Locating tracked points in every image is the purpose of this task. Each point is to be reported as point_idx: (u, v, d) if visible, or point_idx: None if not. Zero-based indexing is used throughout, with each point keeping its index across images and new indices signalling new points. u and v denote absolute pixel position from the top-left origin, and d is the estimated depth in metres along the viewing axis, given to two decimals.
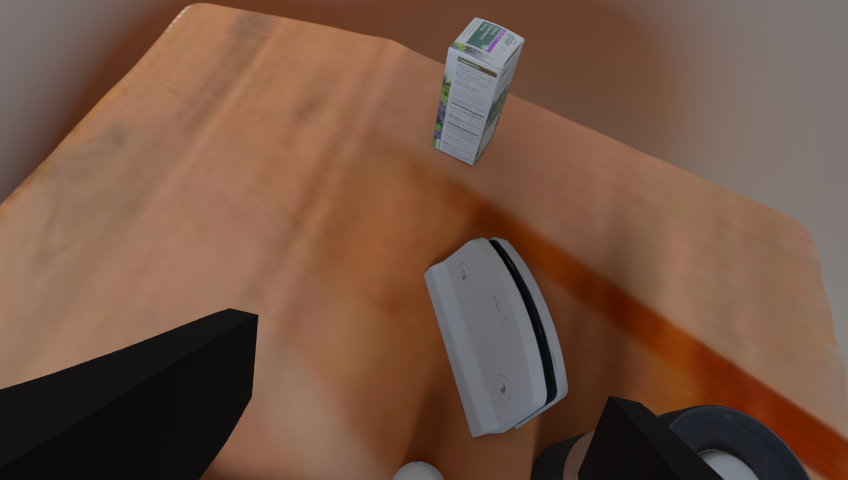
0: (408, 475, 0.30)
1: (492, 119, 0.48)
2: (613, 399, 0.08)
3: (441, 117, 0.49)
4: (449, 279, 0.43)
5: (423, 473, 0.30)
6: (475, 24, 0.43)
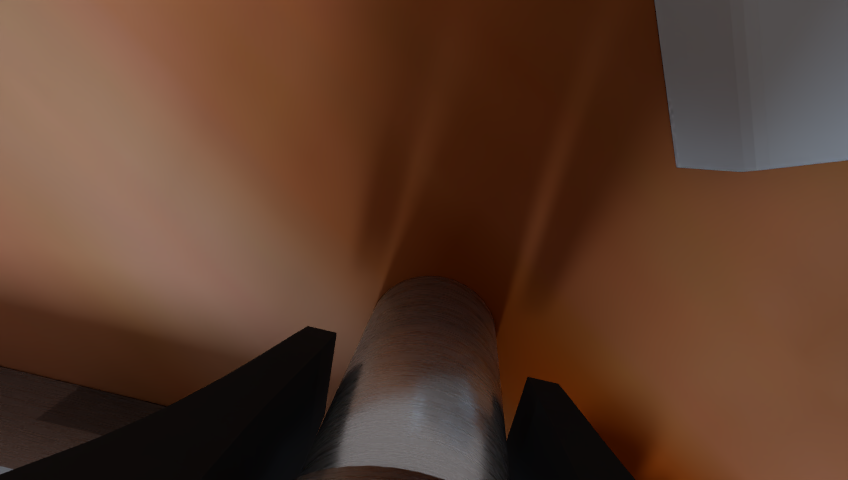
0: None
1: None
2: (529, 380, 0.08)
3: None
4: None
5: None
6: None
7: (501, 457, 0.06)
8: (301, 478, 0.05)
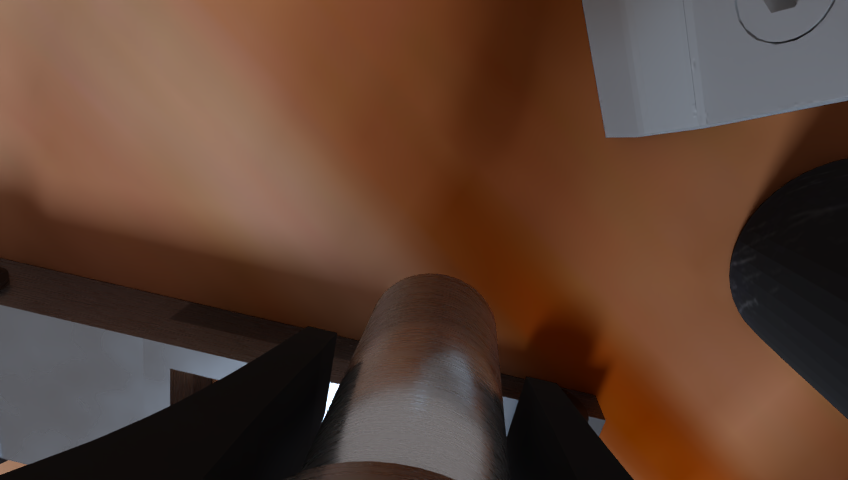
0: None
1: None
2: (528, 380, 0.08)
3: None
4: None
5: None
6: None
7: (501, 454, 0.06)
8: (302, 473, 0.05)
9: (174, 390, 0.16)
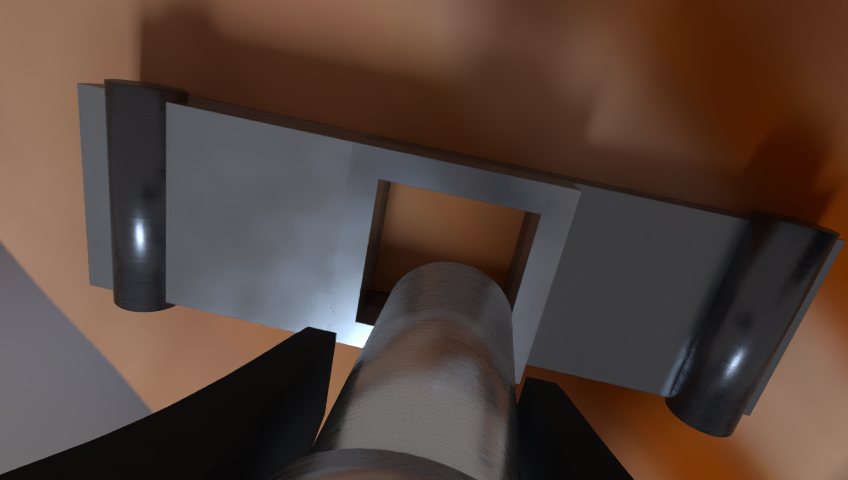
0: None
1: None
2: (528, 380, 0.08)
3: None
4: None
5: None
6: None
7: (512, 449, 0.06)
8: (313, 456, 0.05)
9: (374, 210, 0.15)
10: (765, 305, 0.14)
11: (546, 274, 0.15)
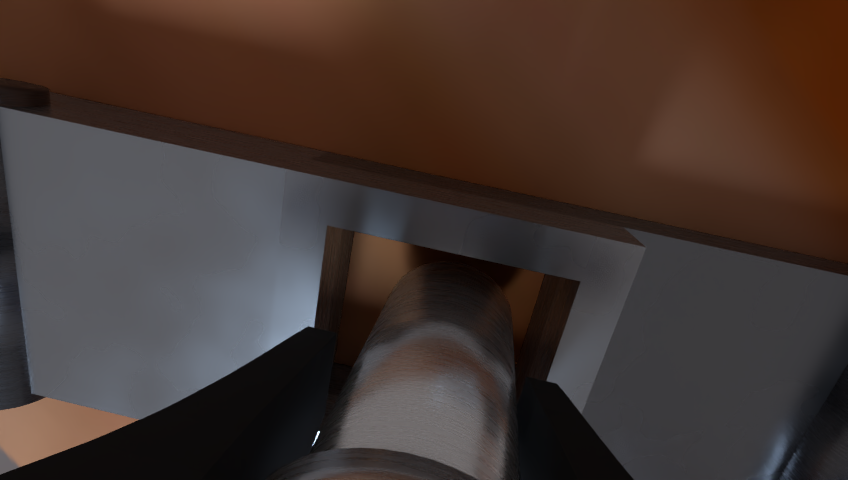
0: None
1: None
2: (529, 379, 0.08)
3: None
4: None
5: None
6: None
7: (512, 449, 0.06)
8: (314, 455, 0.05)
9: (324, 270, 0.10)
10: None
11: (586, 369, 0.10)
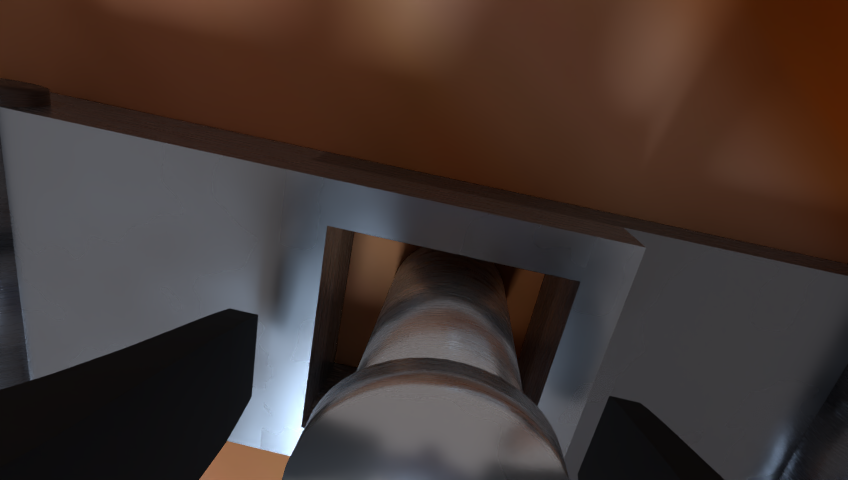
0: (376, 445, 0.06)
1: None
2: (614, 399, 0.08)
3: None
4: None
5: (457, 446, 0.06)
6: None
7: (518, 377, 0.08)
8: (371, 366, 0.06)
9: (324, 270, 0.10)
10: None
11: (585, 369, 0.10)
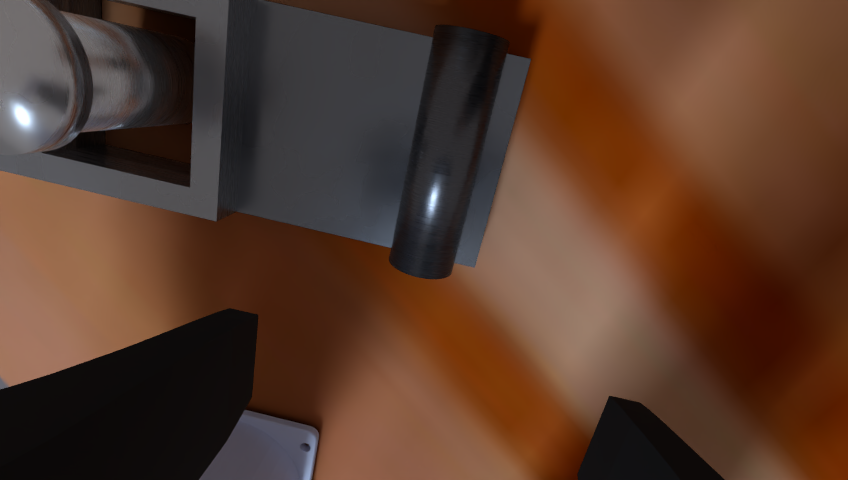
0: None
1: None
2: (614, 399, 0.08)
3: None
4: None
5: None
6: None
7: (113, 48, 0.12)
8: None
9: None
10: (437, 120, 0.14)
11: (215, 89, 0.14)
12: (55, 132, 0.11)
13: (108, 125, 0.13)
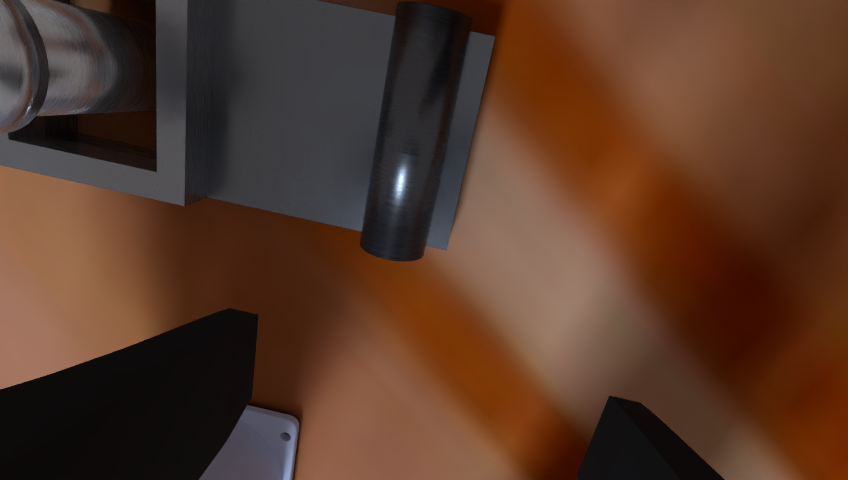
0: None
1: None
2: (613, 399, 0.08)
3: None
4: None
5: None
6: None
7: (72, 30, 0.12)
8: None
9: None
10: (401, 98, 0.14)
11: (178, 71, 0.14)
12: (10, 113, 0.11)
13: (70, 108, 0.13)
